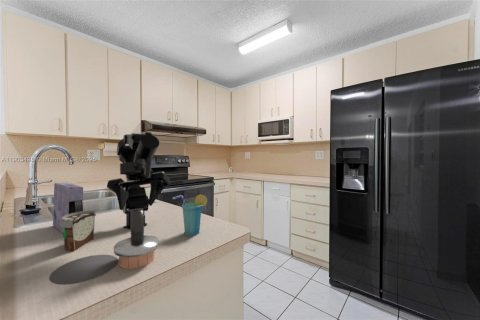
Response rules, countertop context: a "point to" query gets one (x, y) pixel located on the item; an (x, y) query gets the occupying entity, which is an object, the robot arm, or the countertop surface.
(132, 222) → the steel lid
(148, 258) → the terracotta bowl
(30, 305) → the countertop surface
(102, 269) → the rubber mat
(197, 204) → the cup
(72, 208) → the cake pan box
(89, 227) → the food container
